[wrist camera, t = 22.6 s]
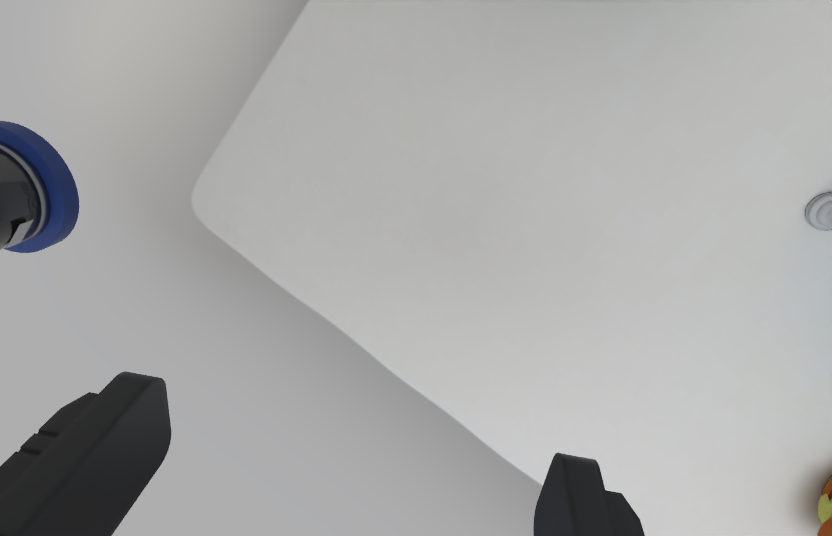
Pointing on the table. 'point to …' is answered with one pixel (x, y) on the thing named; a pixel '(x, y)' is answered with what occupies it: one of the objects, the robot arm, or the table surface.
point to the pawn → (820, 212)
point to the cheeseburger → (826, 510)
